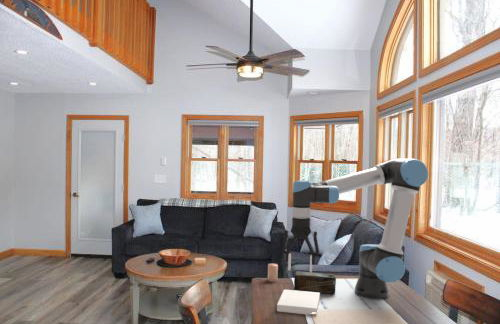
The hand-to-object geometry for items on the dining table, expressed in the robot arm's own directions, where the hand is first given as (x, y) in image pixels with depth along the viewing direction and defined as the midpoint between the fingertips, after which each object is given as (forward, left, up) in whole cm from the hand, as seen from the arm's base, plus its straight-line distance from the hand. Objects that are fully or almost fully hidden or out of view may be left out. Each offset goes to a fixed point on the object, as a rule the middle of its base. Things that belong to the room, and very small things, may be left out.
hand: (300, 270), depth 175 cm
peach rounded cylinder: (+17, -32, -15) cm, 39 cm away
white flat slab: (0, 0, -15) cm, 15 cm away
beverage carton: (+4, -21, -16) cm, 27 cm away
